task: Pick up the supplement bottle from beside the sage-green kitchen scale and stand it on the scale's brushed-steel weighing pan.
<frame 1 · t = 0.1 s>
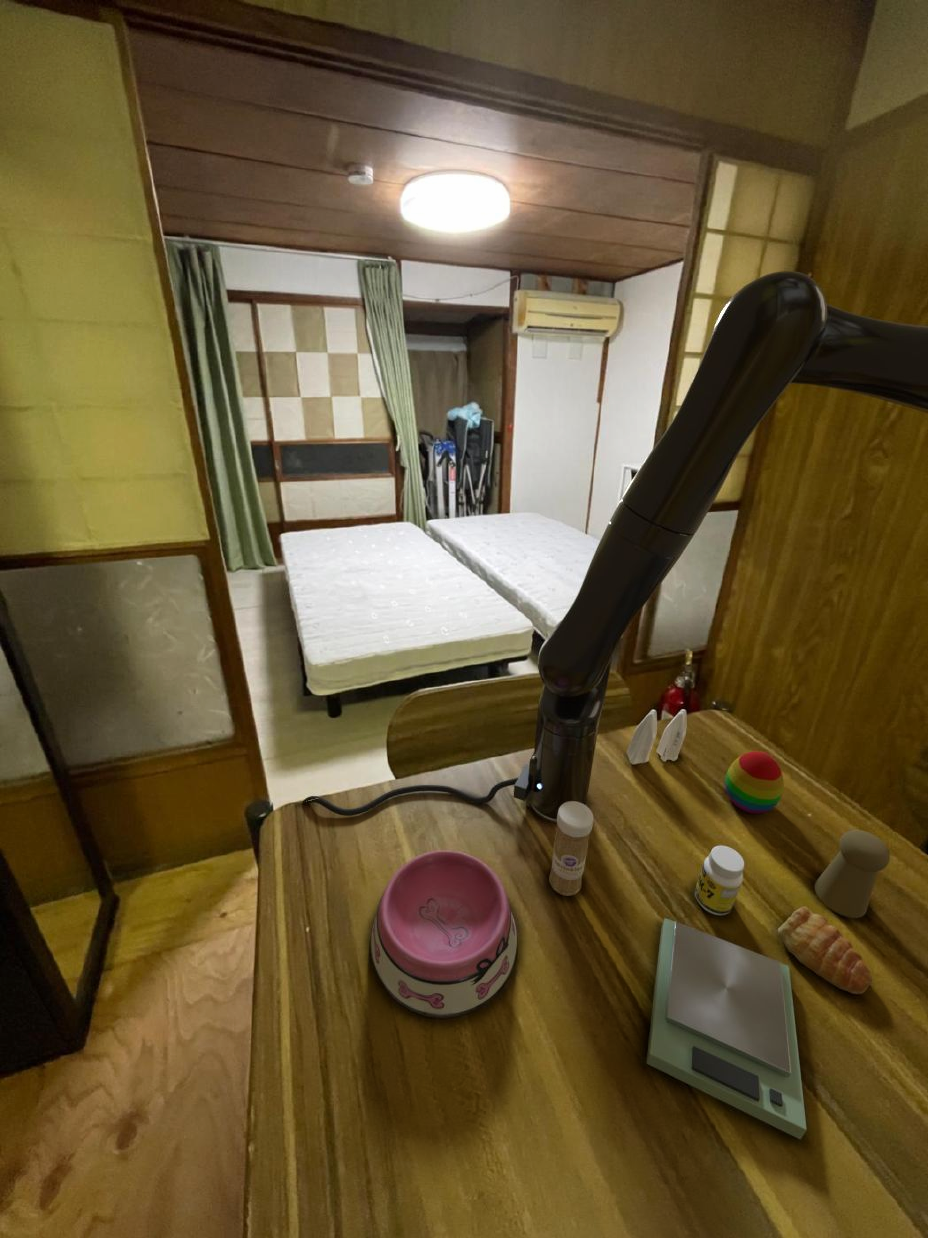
dog bowl: (444, 937, 65), on the table
sprinkles bottle: (565, 883, 72), on the table
shaker set: (651, 759, 95), on the table
decorative egg: (747, 802, 86), on the table
supplement bottle: (712, 901, 70), on the table
cork: (839, 898, 71), on the table
scale base: (719, 1017, 57), on the table
pastry: (816, 952, 64), on the table
scale pan: (725, 990, 57), point 3 cm above the table, slide at 0.0 cm
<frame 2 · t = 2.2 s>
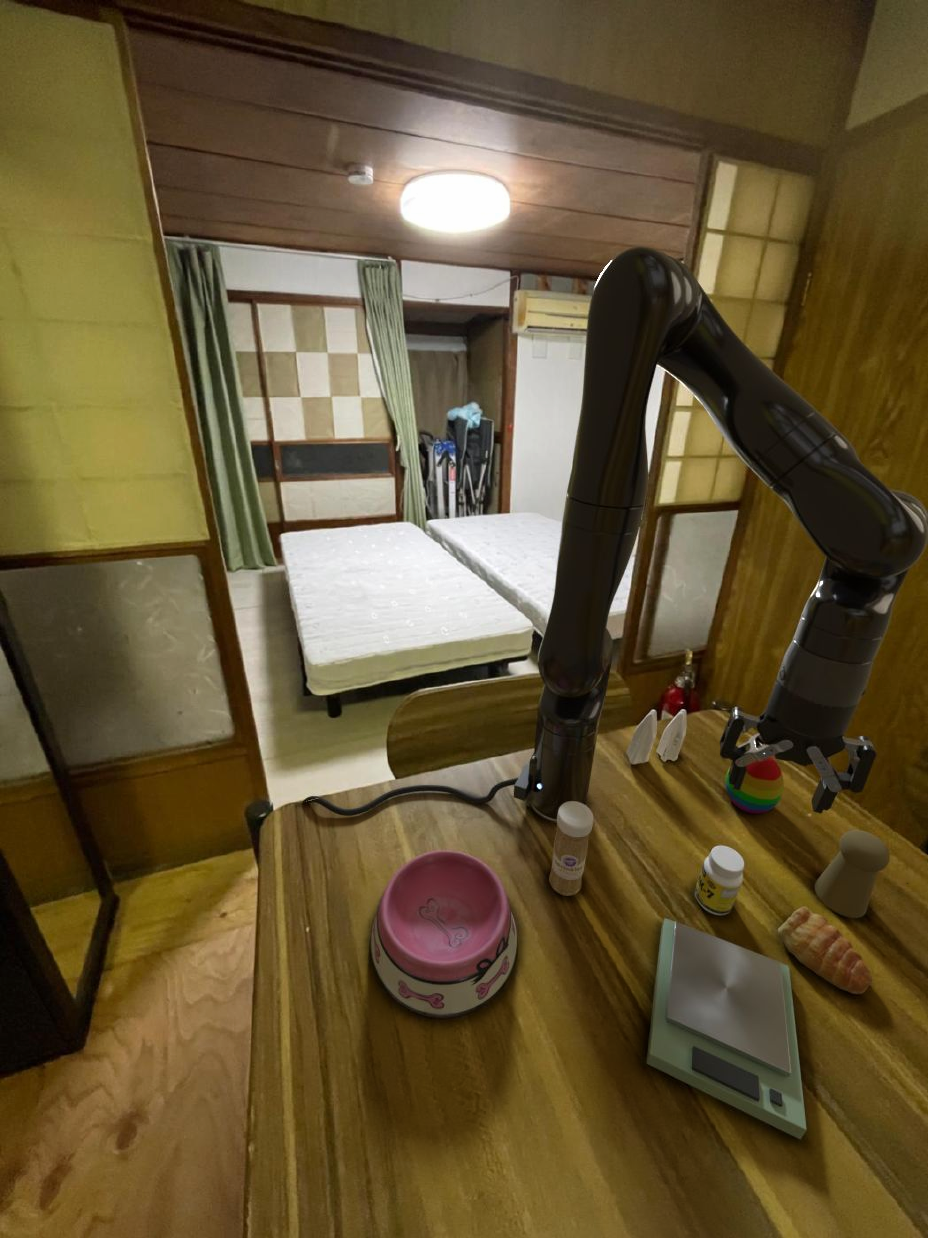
hand: (774, 796, 61), 19 cm above the table, tool pointing down, fingers open, 8 cm apart
nothing on the table moved.
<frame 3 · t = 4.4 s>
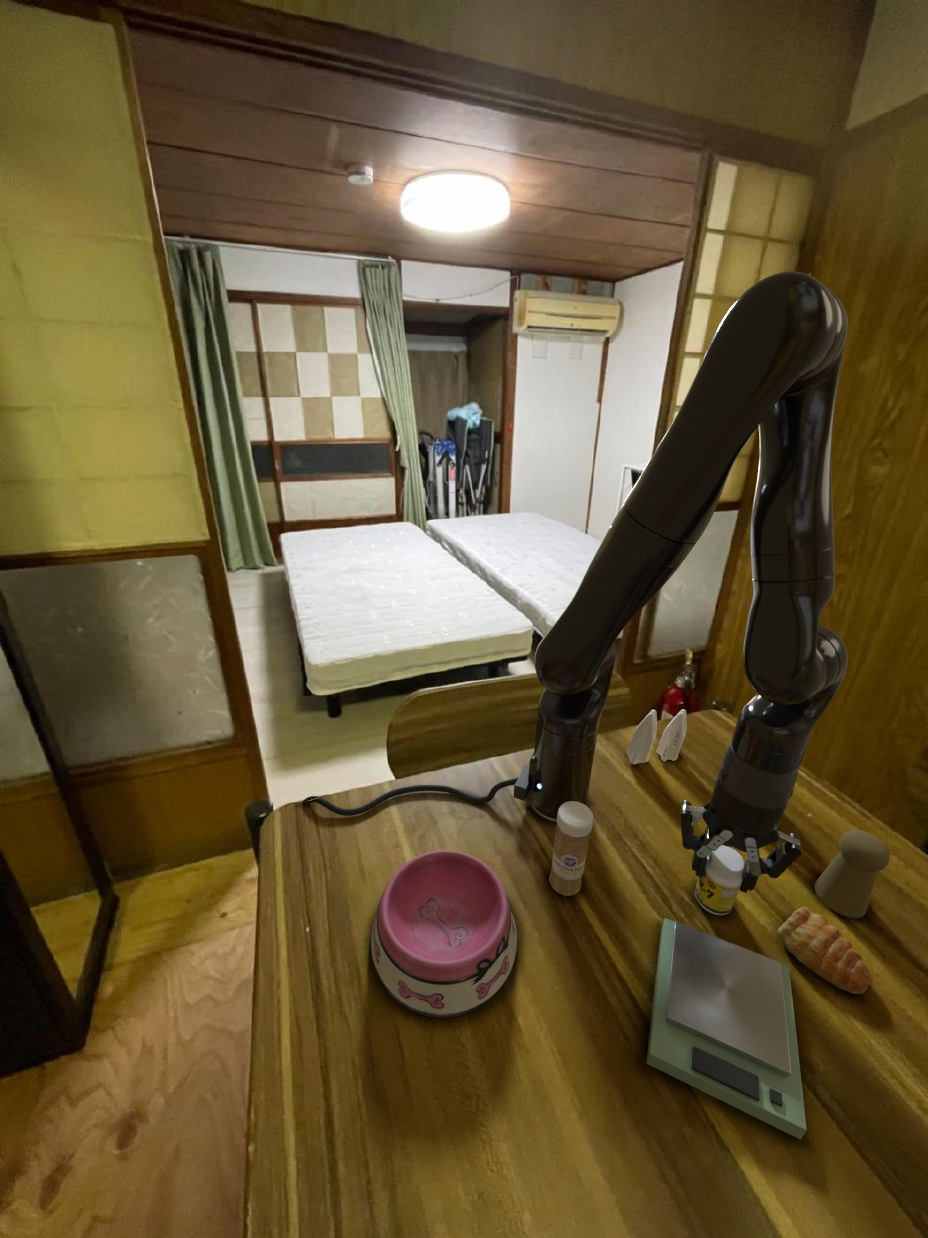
hand: (720, 878, 68), 4 cm above the table, tool pointing down, fingers closed on supplement bottle, 4 cm apart
supplement bottle: (712, 901, 70), on the table, touching gripper
everything else where it was.
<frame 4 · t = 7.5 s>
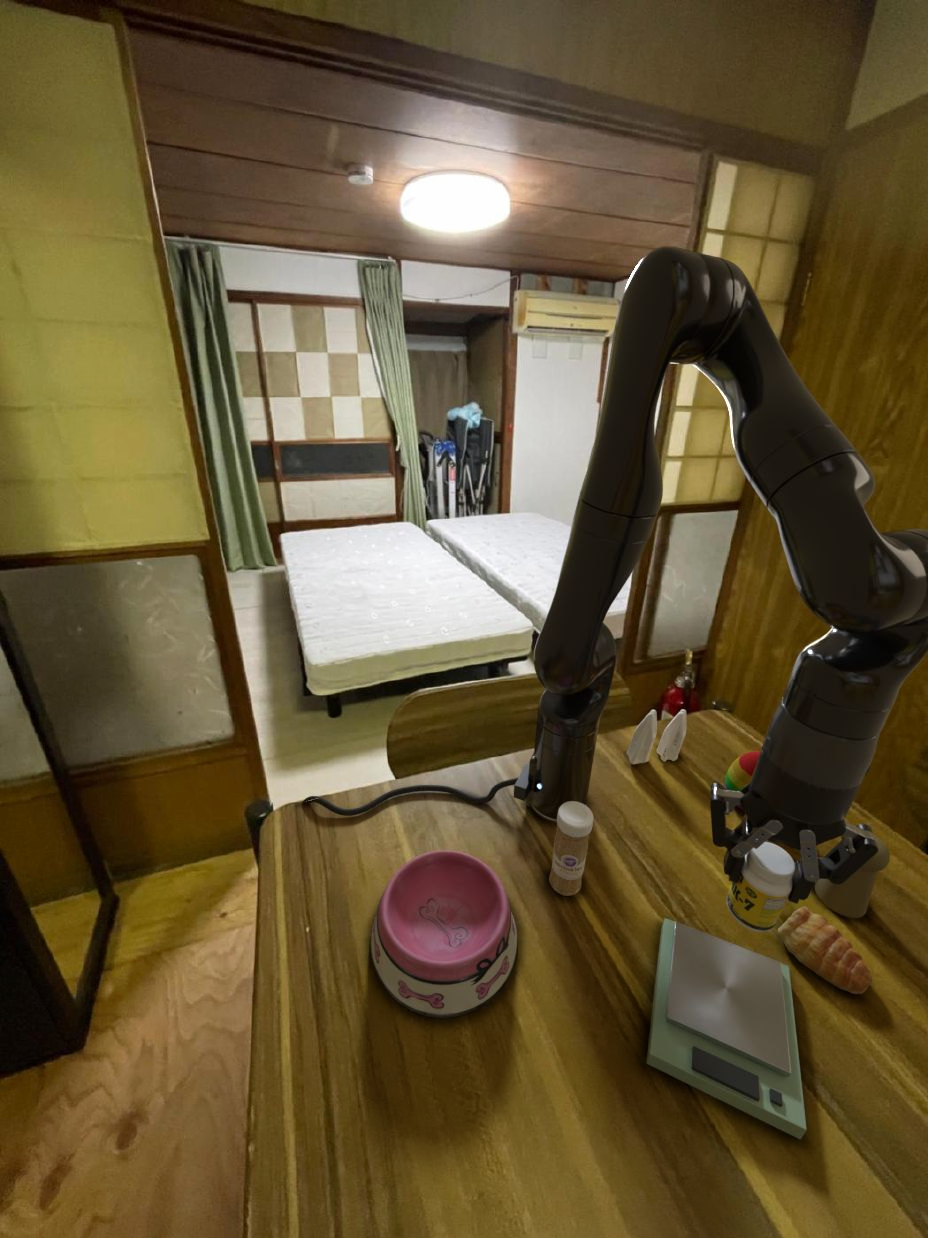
hand: (761, 884, 52), 18 cm above the table, tool pointing down, fingers closed on supplement bottle, 4 cm apart
supplement bottle: (749, 913, 54), point 13 cm above the table, touching gripper
everything else where it was.
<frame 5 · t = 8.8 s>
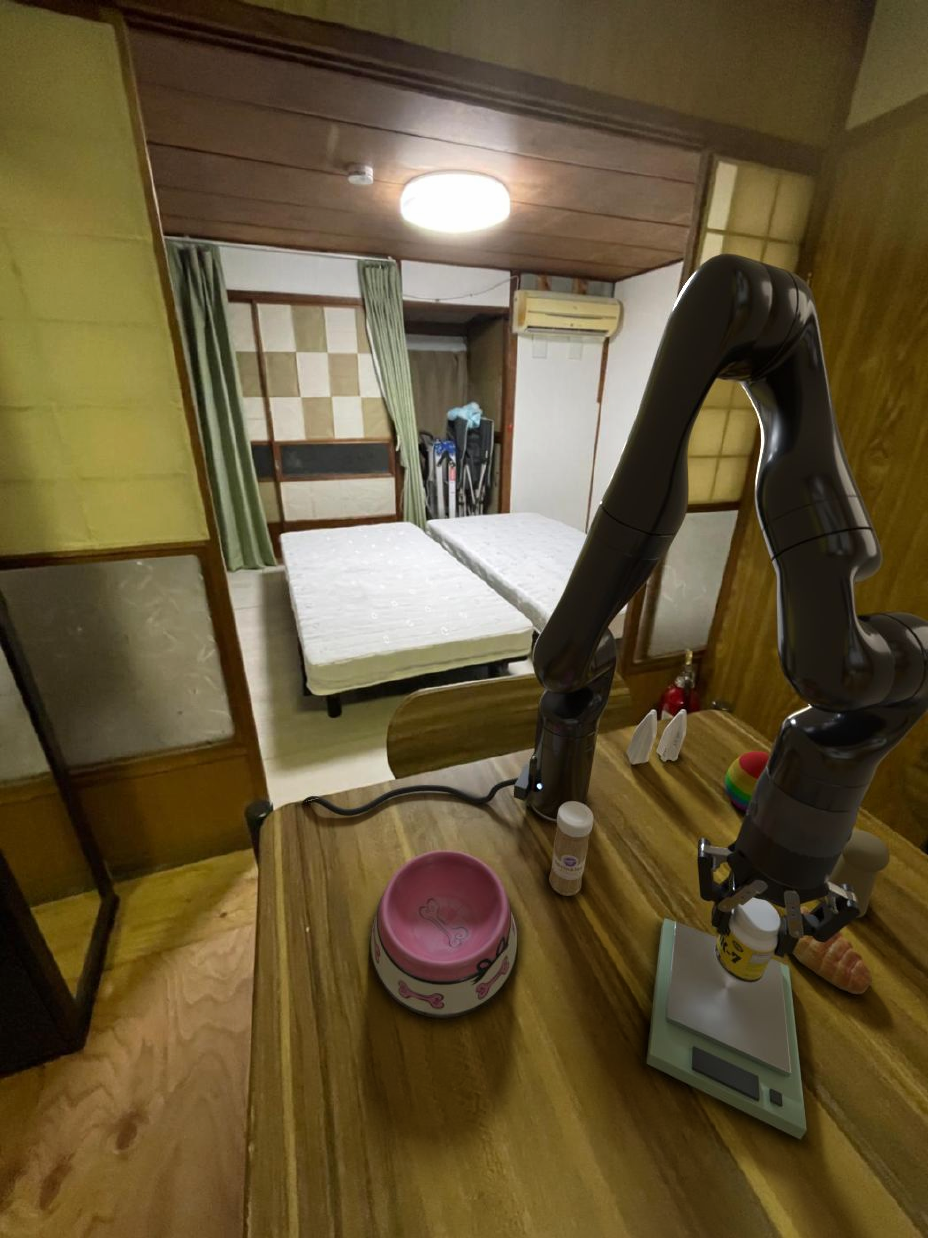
hand: (747, 937, 53), 12 cm above the table, tool pointing down, fingers closed on supplement bottle, 4 cm apart
supplement bottle: (737, 963, 55), point 8 cm above the table, touching gripper
everything else where it was.
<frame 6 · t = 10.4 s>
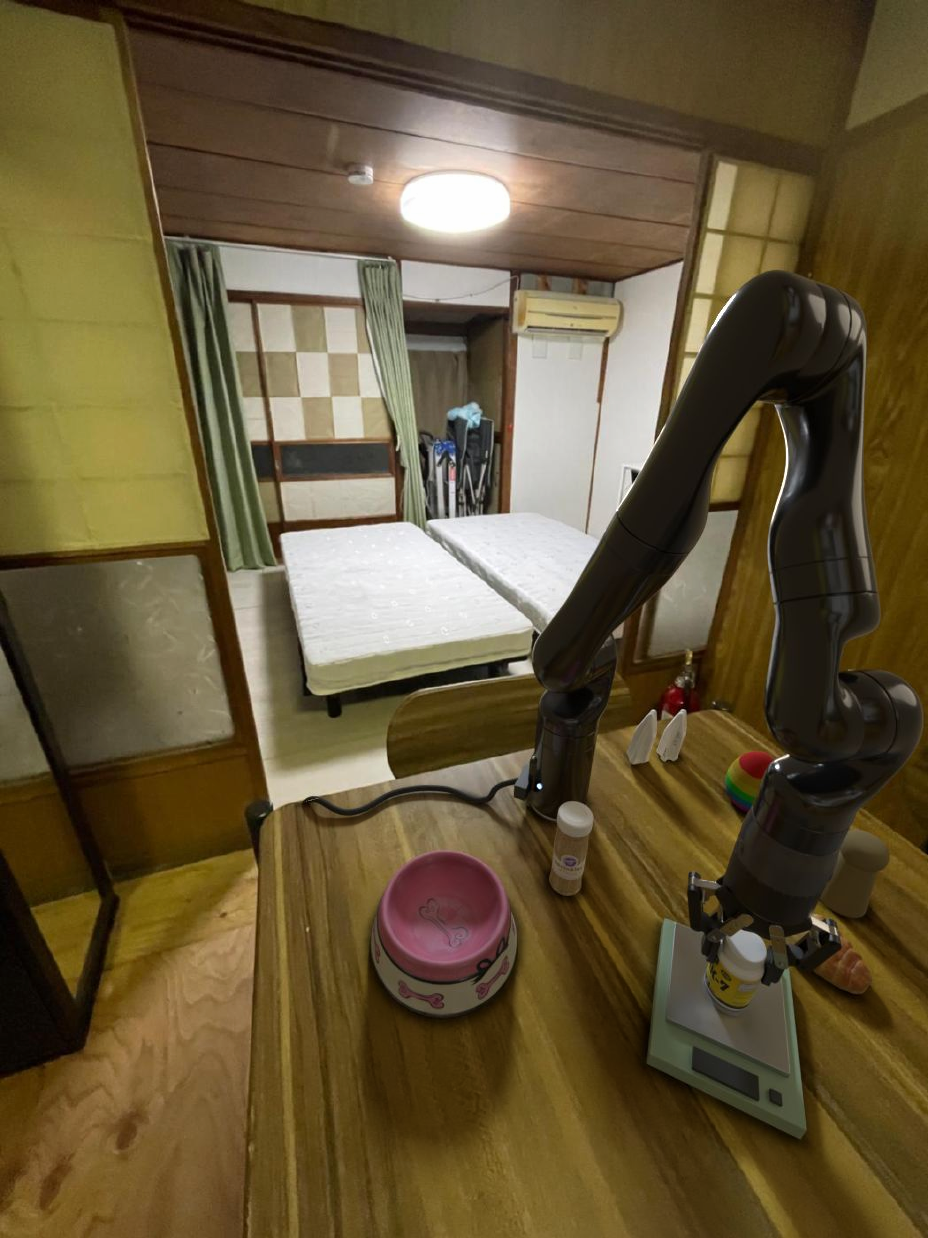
hand: (736, 965, 55), 7 cm above the table, tool pointing down, fingers closed on supplement bottle, 4 cm apart
supplement bottle: (726, 989, 57), point 3 cm above the table, touching gripper, scale pan
scale pan: (725, 991, 57), point 2 cm above the table, slide at -0.2 cm, touching scale base, supplement bottle
everything else where it was.
when the fingers open (7 cm above the table, at t = 10.4 s): supplement bottle stays where it is, resting on scale pan.
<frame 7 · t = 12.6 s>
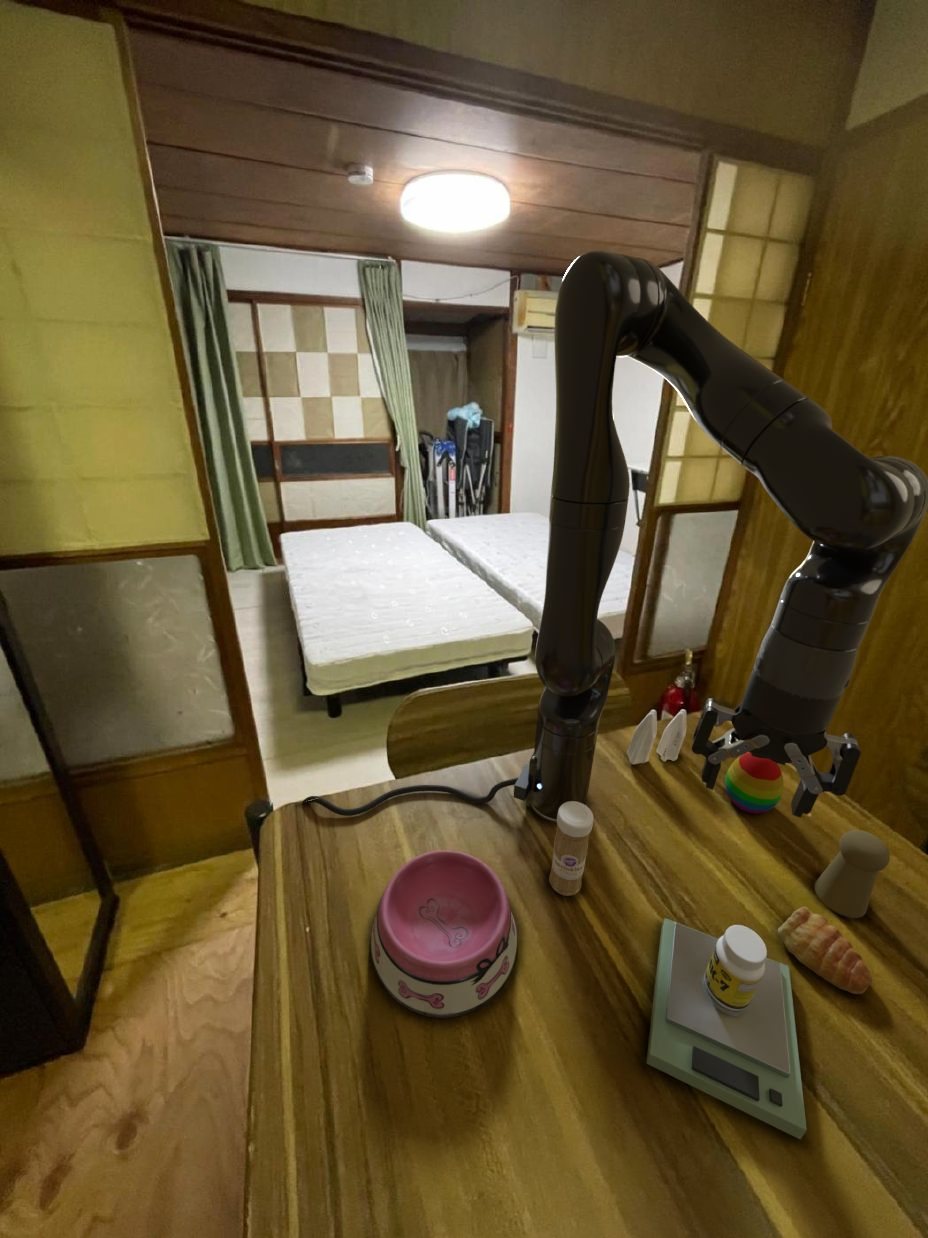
hand: (750, 797, 56), 23 cm above the table, tool pointing down, fingers open, 8 cm apart
supplement bottle: (726, 989, 57), point 3 cm above the table, touching scale pan
everything else where it was.
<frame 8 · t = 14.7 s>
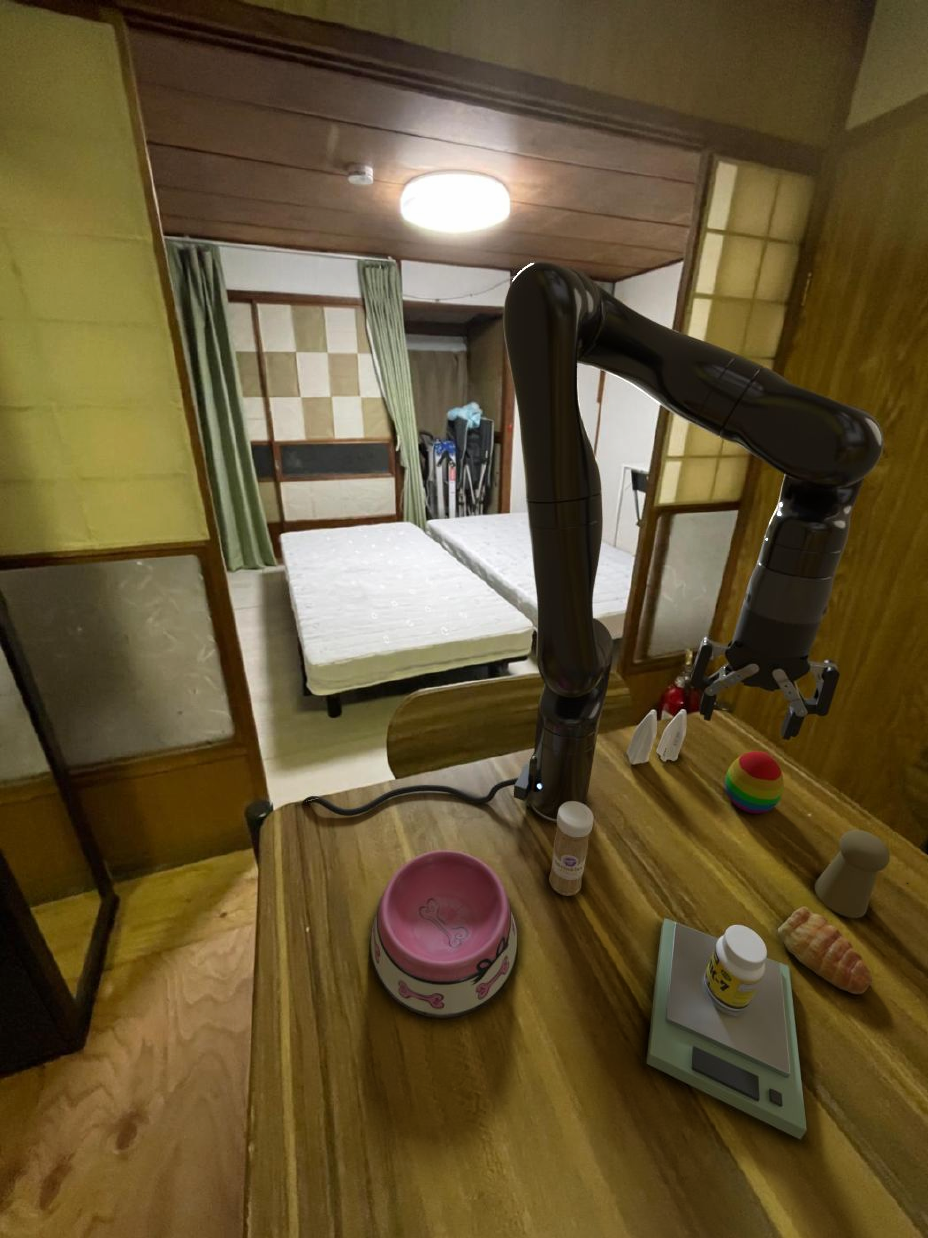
hand: (744, 726, 62), 26 cm above the table, tool pointing down, fingers open, 8 cm apart
nothing on the table moved.
at the end: supplement bottle inside the target area (0.1 cm from its centre), point 2.6 cm above the table; supplement bottle tilted 0°; supplement bottle touching scale pan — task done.
